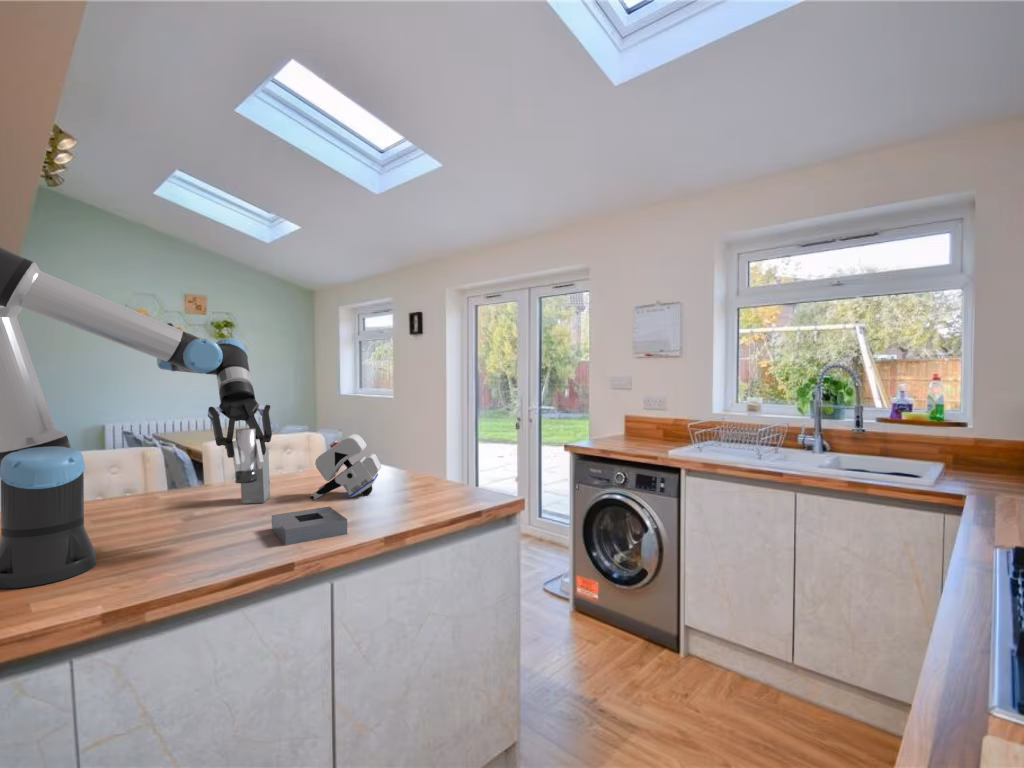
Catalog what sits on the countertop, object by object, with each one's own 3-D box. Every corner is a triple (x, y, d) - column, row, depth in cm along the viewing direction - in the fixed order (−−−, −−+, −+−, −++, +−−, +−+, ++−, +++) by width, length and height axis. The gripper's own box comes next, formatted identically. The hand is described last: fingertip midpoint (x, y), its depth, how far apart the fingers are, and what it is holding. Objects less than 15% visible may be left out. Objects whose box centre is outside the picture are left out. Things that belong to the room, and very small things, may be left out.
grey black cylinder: (237, 484, 112) (236, 430, 112) (233, 480, 116) (233, 428, 116) (258, 481, 115) (258, 429, 115) (254, 478, 119) (254, 427, 118)
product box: (264, 503, 148) (264, 449, 148) (237, 504, 146) (237, 450, 146) (271, 496, 156) (271, 445, 156) (246, 497, 155) (246, 446, 154)
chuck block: (285, 545, 113) (285, 529, 113) (271, 529, 125) (271, 515, 125) (347, 533, 122) (347, 519, 122) (329, 519, 133) (329, 506, 133)
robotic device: (337, 514, 164) (300, 464, 162) (392, 476, 166) (356, 426, 164) (329, 523, 154) (290, 470, 152) (388, 483, 156) (350, 430, 154)
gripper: (271, 398, 132) (287, 471, 120) (194, 400, 122) (203, 481, 109) (275, 378, 128) (292, 452, 115) (196, 379, 118) (206, 460, 105)
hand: (249, 466), depth 112 cm, fingers closed on grey black cylinder, 4 cm apart
